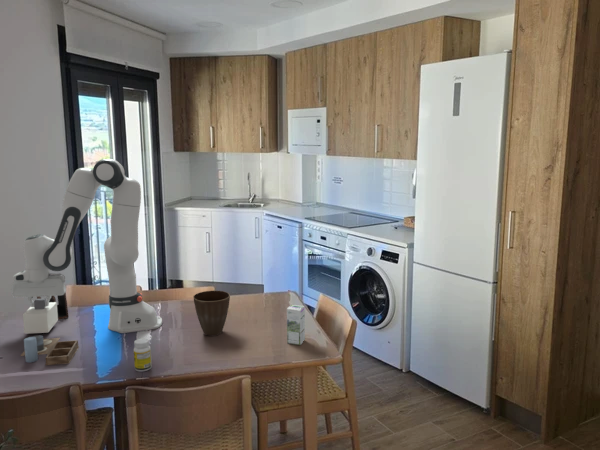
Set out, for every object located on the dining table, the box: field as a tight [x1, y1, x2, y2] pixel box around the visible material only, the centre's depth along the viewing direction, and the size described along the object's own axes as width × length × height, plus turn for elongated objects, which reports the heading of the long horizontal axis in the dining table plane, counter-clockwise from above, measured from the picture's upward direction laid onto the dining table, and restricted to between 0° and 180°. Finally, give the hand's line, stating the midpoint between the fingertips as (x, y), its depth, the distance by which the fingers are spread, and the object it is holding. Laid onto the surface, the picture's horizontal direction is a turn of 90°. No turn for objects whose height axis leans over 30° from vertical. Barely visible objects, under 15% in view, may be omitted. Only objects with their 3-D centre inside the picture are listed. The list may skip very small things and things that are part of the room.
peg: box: [23, 336, 39, 363], centre depth 188 cm, size 4×4×9 cm
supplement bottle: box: [133, 337, 152, 372], centre depth 183 cm, size 6×6×10 cm
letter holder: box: [36, 291, 69, 321], centre depth 241 cm, size 10×20×14 cm, turn 35°
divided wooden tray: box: [44, 339, 80, 366], centre depth 192 cm, size 8×15×4 cm, turn 11°
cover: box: [22, 298, 58, 335], centre depth 217 cm, size 9×15×12 cm, turn 11°
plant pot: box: [192, 290, 231, 337], centre depth 216 cm, size 15×15×16 cm
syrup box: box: [286, 304, 306, 346], centre depth 205 cm, size 6×6×14 cm
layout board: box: [19, 334, 61, 357], centre depth 201 cm, size 10×16×6 cm, turn 11°
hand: (40, 306), depth 217 cm, fingers closed on cover, 3 cm apart
